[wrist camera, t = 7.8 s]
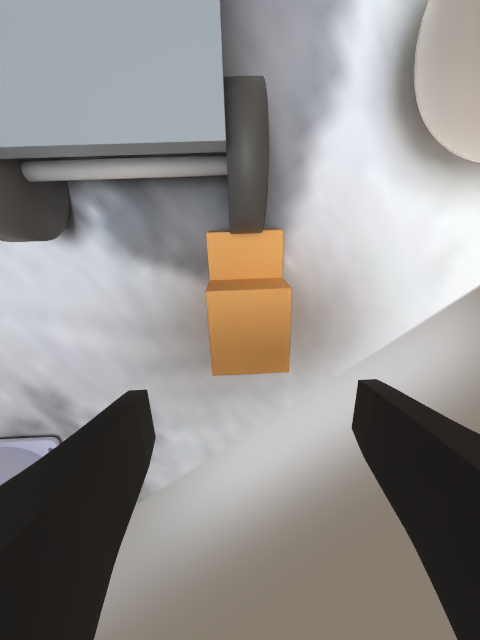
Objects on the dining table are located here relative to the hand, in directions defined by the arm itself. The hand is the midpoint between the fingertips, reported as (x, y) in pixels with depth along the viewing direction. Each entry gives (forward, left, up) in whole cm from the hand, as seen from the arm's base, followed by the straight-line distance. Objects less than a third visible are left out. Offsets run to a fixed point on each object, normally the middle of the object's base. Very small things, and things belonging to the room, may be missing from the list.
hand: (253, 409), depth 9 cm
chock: (+2, 0, -10) cm, 10 cm away
